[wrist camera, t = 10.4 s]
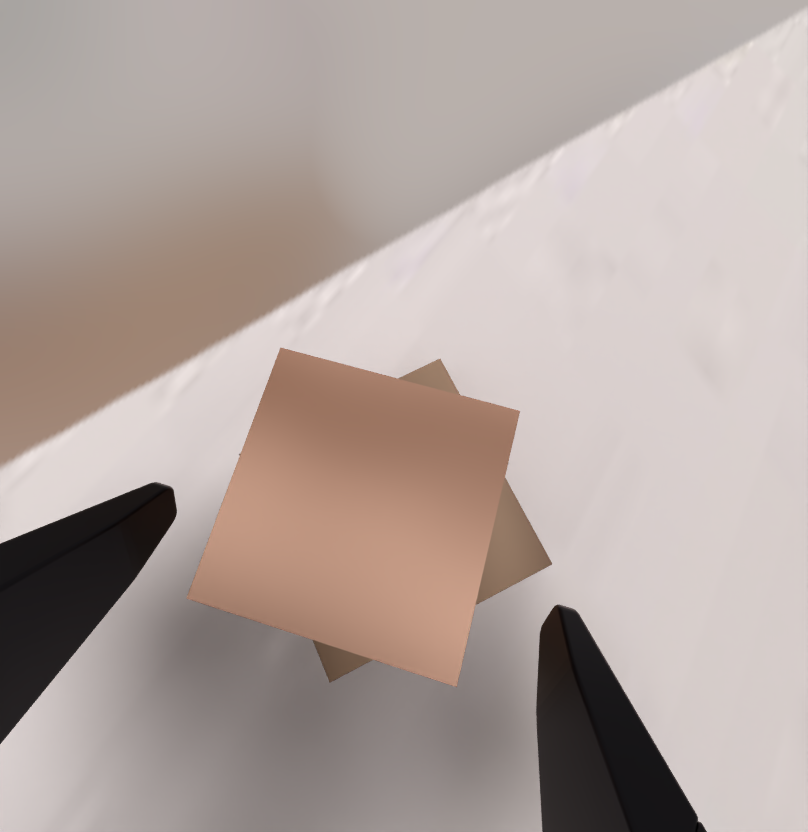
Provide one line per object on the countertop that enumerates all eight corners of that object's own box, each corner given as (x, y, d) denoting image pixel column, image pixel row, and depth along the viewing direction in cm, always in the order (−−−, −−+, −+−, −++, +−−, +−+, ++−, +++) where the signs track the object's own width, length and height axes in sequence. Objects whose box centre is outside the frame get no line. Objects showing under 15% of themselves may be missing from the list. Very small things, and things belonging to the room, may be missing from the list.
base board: (336, 668, 17) (329, 682, 16) (252, 458, 20) (239, 454, 18) (541, 559, 18) (552, 563, 17) (438, 369, 20) (440, 358, 19)
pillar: (431, 584, 17) (456, 687, 7) (316, 548, 17) (186, 598, 7) (461, 466, 18) (520, 411, 8) (352, 435, 18) (280, 347, 8)
